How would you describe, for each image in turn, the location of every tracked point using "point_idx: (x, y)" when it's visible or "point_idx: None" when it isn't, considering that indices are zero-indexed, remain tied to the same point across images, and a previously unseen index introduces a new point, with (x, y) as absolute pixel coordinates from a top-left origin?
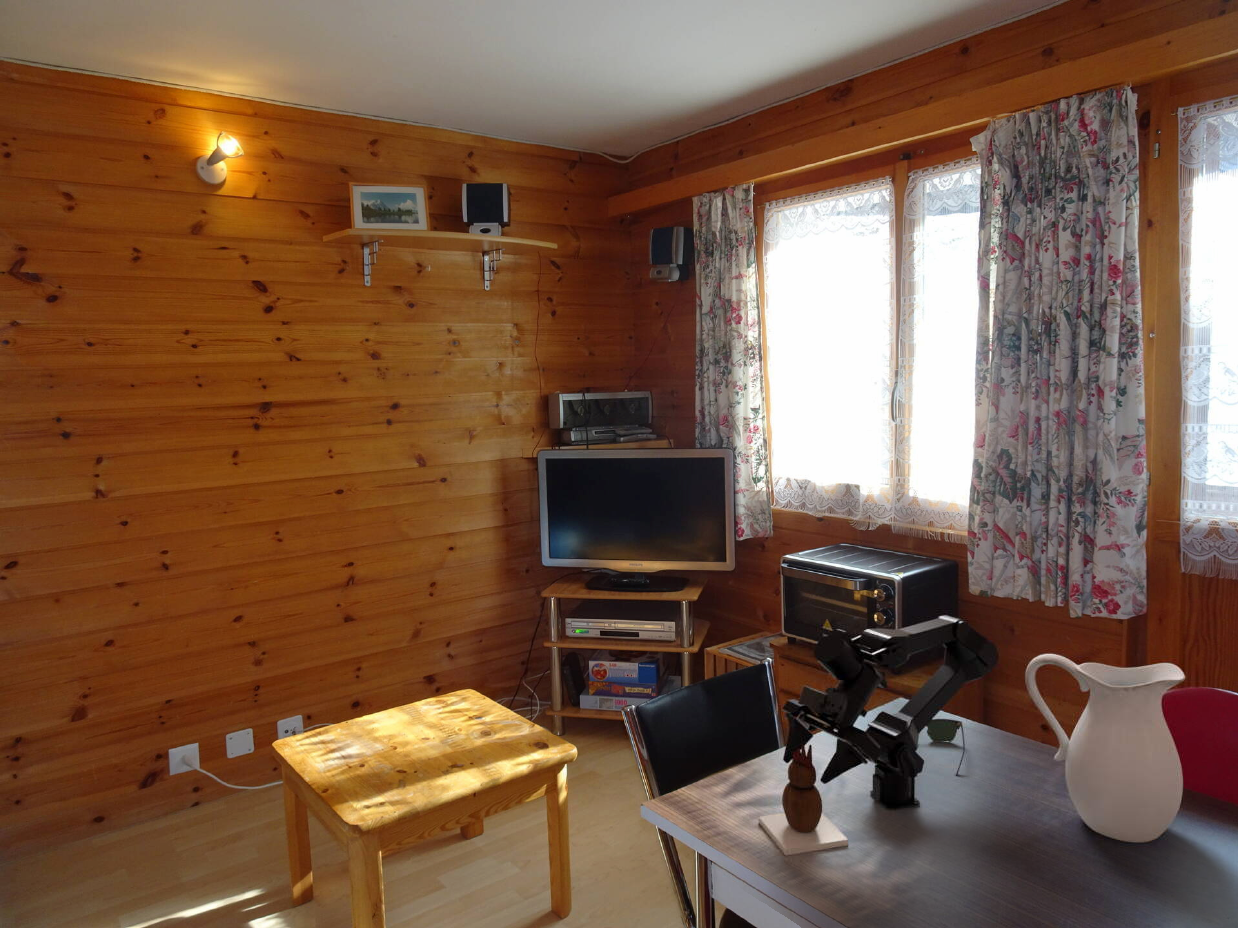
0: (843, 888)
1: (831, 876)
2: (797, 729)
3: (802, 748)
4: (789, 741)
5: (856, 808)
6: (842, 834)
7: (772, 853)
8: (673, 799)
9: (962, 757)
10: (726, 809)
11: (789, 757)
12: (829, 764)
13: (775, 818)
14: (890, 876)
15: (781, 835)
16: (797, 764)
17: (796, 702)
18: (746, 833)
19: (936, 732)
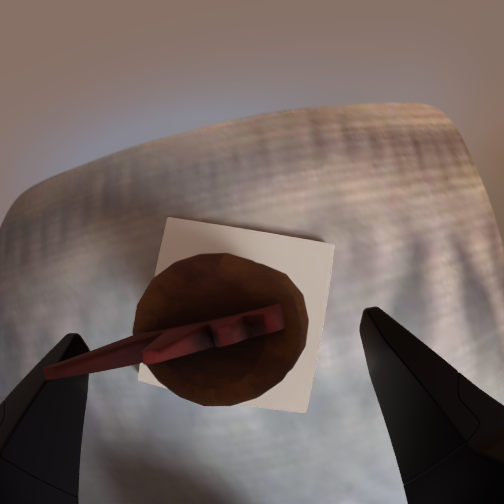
0: (42, 256)
1: (72, 261)
2: (472, 470)
3: (165, 342)
4: (438, 377)
5: (276, 491)
6: (161, 385)
7: (193, 199)
8: (460, 148)
9: None
10: (408, 213)
11: (371, 347)
12: (30, 395)
13: (309, 280)
14: (36, 358)
15: (226, 244)
16: (206, 295)
17: None
18: (296, 193)
19: None
